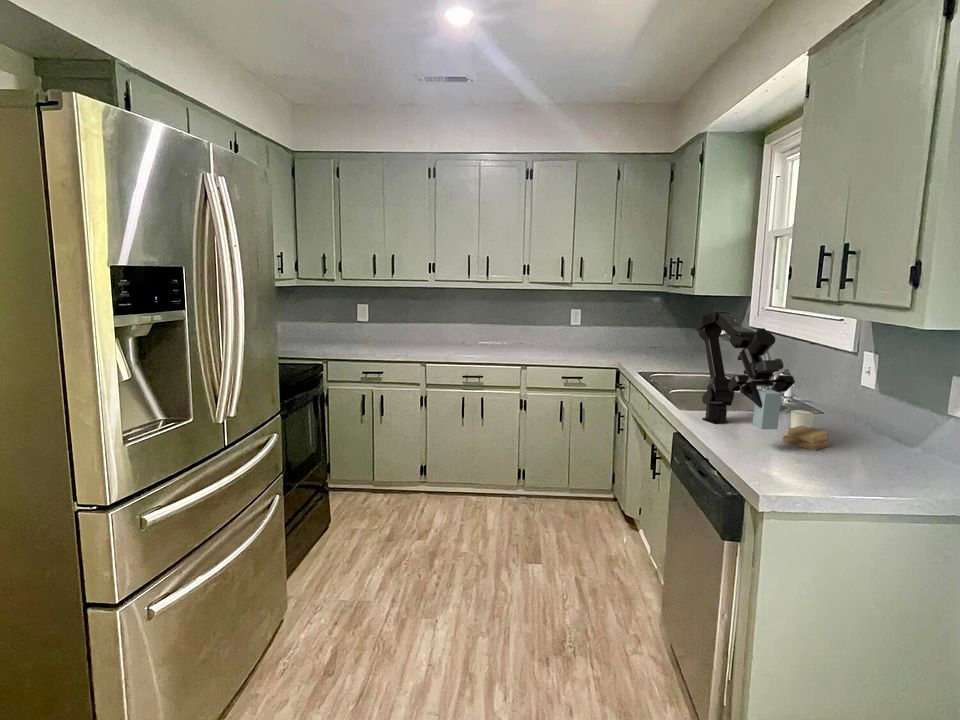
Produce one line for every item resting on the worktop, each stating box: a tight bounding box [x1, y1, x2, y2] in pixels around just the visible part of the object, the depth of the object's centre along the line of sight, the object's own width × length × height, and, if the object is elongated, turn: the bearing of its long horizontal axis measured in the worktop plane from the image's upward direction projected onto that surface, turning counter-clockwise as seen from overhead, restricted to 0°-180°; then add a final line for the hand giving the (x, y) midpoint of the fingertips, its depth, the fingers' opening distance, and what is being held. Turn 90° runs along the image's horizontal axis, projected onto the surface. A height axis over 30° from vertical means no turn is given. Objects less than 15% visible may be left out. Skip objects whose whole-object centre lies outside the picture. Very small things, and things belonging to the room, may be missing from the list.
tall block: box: [752, 389, 782, 430], centre depth 173 cm, size 5×5×11 cm
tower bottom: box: [782, 434, 832, 451], centre depth 181 cm, size 10×10×2 cm
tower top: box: [787, 426, 828, 443], centre depth 180 cm, size 8×8×2 cm
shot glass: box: [790, 409, 815, 428], centre depth 193 cm, size 7×7×7 cm
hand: (769, 406), depth 171 cm, fingers closed on tall block, 5 cm apart
